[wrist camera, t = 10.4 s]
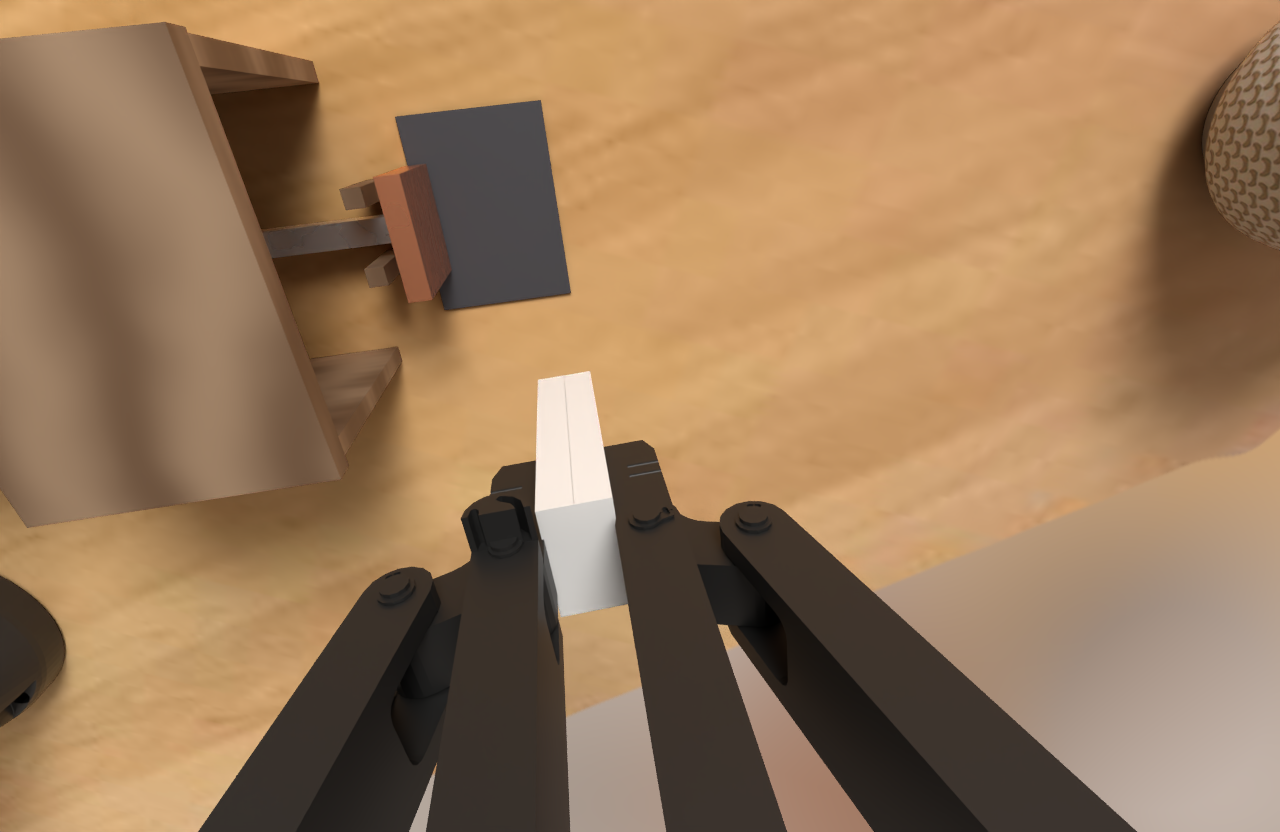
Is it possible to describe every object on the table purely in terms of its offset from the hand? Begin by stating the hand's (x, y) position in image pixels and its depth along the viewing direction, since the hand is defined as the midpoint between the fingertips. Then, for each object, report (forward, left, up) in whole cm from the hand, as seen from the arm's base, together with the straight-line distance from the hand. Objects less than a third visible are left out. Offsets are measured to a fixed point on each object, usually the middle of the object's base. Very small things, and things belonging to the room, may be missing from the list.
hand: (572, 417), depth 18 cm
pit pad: (-4, +3, -23) cm, 23 cm away
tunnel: (-17, +3, -23) cm, 29 cm away
